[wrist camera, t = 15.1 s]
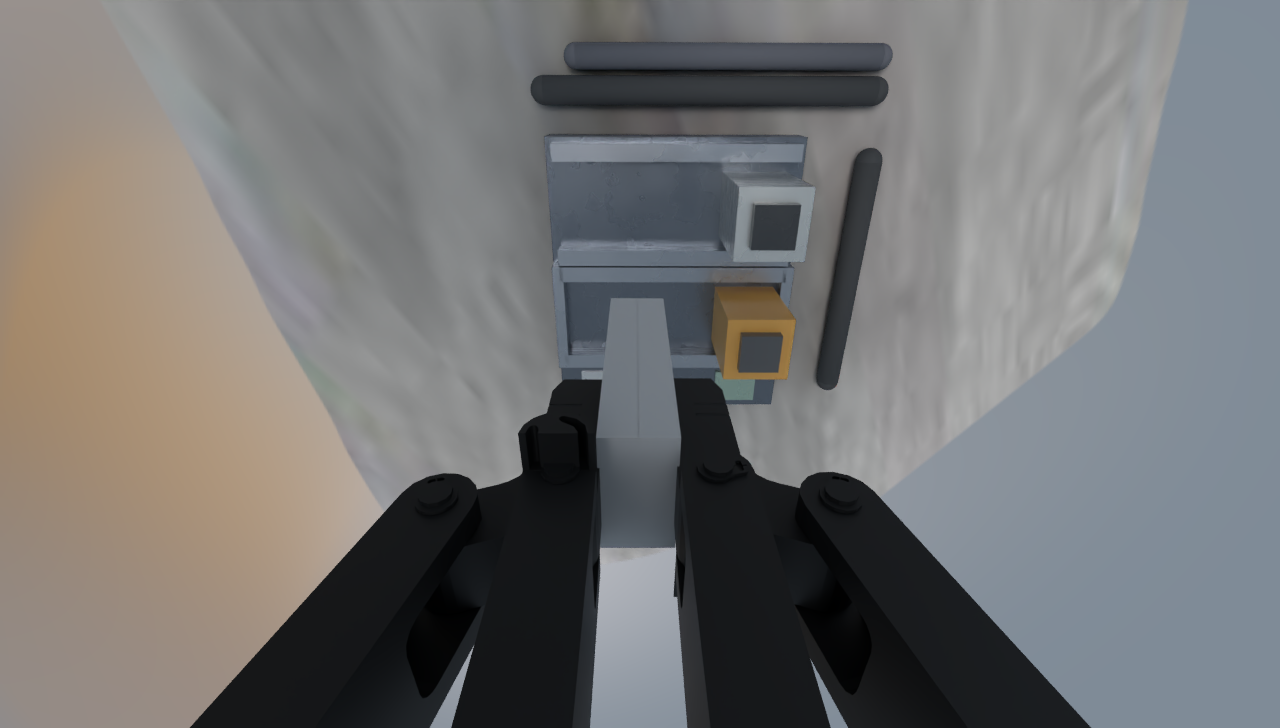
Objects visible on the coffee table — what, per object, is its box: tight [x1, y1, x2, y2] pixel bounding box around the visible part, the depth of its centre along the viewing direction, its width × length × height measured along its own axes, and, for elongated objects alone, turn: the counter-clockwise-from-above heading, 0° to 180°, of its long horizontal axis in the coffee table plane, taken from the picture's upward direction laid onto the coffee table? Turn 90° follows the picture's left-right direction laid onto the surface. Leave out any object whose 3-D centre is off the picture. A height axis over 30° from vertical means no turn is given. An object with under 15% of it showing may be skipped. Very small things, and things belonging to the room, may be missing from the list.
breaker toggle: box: [711, 287, 796, 379], centre depth 34 cm, size 4×4×7 cm
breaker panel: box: [544, 134, 816, 404], centre depth 34 cm, size 19×16×9 cm
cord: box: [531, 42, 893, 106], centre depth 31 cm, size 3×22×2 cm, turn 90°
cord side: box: [817, 148, 882, 390], centre depth 37 cm, size 18×2×2 cm, turn 0°
